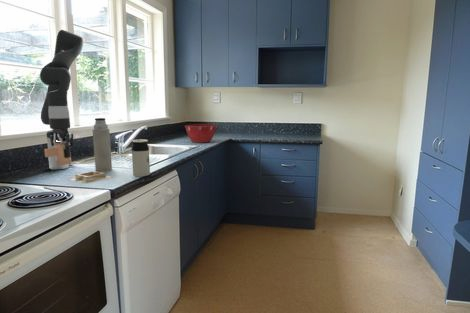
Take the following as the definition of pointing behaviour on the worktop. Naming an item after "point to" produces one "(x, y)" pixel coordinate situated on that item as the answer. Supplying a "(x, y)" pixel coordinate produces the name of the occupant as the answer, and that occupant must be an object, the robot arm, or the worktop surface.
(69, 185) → the worktop surface
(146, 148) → the travel mug
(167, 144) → the worktop surface
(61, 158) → the tabbed peach cylinder
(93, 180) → the dock
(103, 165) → the thermos bottle
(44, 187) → the mat
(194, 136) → the mixing bowl
